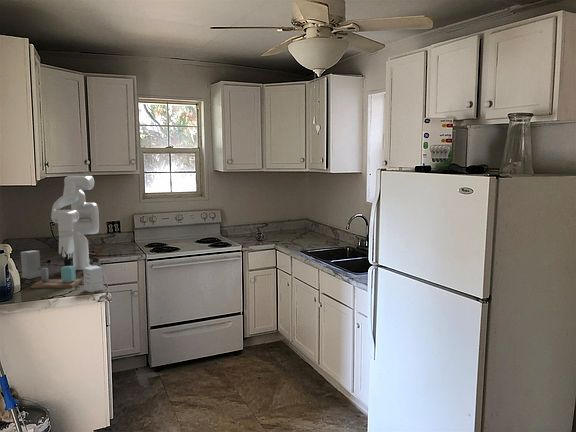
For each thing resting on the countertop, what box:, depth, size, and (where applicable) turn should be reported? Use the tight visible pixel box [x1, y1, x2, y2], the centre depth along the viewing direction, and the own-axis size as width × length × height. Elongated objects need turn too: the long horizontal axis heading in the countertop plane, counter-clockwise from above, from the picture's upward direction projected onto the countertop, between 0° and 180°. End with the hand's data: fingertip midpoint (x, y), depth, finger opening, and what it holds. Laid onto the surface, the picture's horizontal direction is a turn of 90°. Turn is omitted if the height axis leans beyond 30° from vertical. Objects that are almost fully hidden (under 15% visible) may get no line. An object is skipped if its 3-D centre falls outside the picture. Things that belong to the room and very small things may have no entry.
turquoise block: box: [60, 265, 77, 282], centre depth 266 cm, size 6×6×8 cm
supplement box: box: [82, 265, 104, 294], centre depth 255 cm, size 7×7×13 cm
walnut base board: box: [30, 278, 83, 289], centre depth 266 cm, size 14×22×2 cm, turn 93°
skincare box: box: [20, 249, 42, 280], centre depth 282 cm, size 8×7×16 cm
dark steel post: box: [40, 267, 50, 283], centre depth 265 cm, size 3×3×8 cm
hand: (67, 265), depth 265 cm, fingers closed
